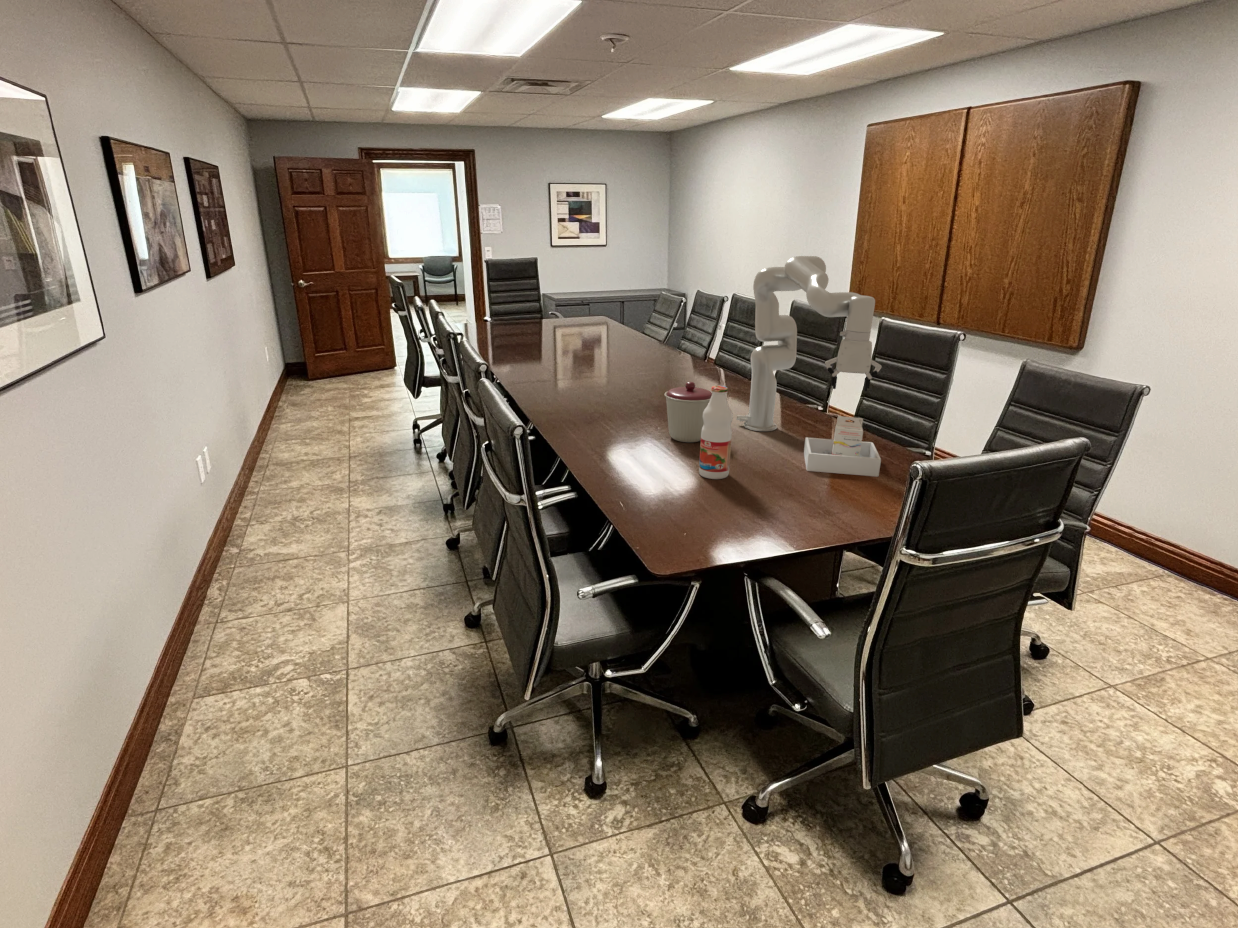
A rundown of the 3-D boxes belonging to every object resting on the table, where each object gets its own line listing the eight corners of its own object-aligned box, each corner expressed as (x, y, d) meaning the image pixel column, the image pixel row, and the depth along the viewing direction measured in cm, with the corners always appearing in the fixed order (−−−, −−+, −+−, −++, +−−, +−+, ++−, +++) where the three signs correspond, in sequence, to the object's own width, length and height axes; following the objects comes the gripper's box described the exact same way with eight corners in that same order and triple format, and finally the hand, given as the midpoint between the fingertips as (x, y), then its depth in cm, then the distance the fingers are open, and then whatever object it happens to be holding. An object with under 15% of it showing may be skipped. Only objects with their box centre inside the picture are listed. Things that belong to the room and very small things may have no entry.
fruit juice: (734, 475, 217) (741, 387, 207) (715, 482, 211) (722, 392, 201) (711, 467, 223) (717, 382, 214) (692, 473, 217) (697, 386, 208)
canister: (718, 435, 256) (722, 379, 249) (703, 449, 241) (706, 390, 234) (672, 429, 264) (675, 374, 257) (655, 441, 248) (657, 384, 241)
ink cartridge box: (831, 462, 227) (836, 419, 222) (830, 457, 231) (836, 415, 226) (858, 465, 225) (864, 421, 220) (857, 460, 229) (863, 417, 224)
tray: (806, 470, 222) (808, 453, 220) (803, 453, 238) (805, 437, 237) (878, 476, 218) (881, 459, 216) (870, 458, 235) (872, 442, 233)
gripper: (829, 336, 215) (822, 390, 221) (888, 340, 212) (879, 394, 218) (827, 332, 222) (821, 384, 228) (884, 336, 219) (875, 388, 225)
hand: (849, 389), depth 223 cm, fingers open, 9 cm apart
